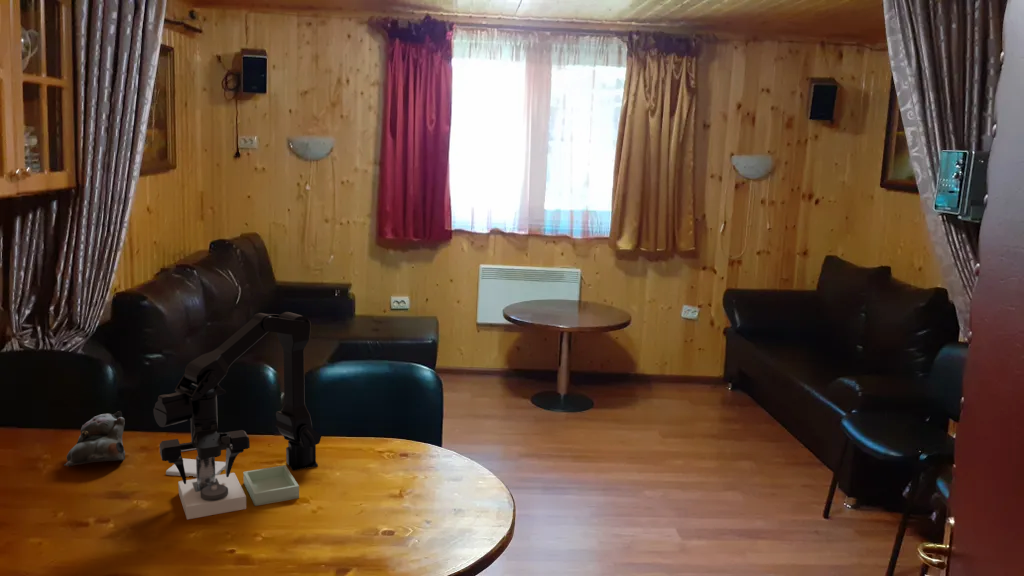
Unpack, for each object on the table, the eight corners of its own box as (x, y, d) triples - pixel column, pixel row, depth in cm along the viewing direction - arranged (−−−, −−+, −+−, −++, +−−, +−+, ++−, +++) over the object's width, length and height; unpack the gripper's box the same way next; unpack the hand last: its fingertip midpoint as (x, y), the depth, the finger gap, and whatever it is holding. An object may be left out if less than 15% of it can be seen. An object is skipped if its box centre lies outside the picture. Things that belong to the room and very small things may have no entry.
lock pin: (214, 492, 189) (213, 452, 187) (217, 499, 186) (216, 458, 184) (196, 495, 187) (194, 454, 185) (198, 502, 184) (197, 461, 182)
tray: (285, 476, 199) (285, 465, 199) (299, 497, 188) (298, 485, 187) (243, 483, 194) (243, 471, 194) (255, 506, 183) (254, 493, 183)
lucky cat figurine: (53, 467, 199) (60, 411, 203) (96, 470, 209) (102, 416, 214) (94, 462, 193) (100, 404, 197) (137, 465, 203) (142, 410, 207)
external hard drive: (182, 463, 206) (229, 467, 205) (166, 477, 198) (214, 480, 197) (182, 457, 205) (229, 461, 204) (165, 470, 197) (214, 474, 196)
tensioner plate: (234, 484, 194) (234, 463, 193) (246, 508, 182) (245, 486, 181) (178, 493, 188) (177, 471, 187) (186, 519, 176) (186, 496, 175)
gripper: (163, 433, 172) (166, 502, 175) (253, 421, 180) (255, 486, 183) (157, 416, 181) (160, 481, 184) (244, 406, 190) (245, 468, 193)
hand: (206, 480), depth 186 cm, fingers open, 9 cm apart
